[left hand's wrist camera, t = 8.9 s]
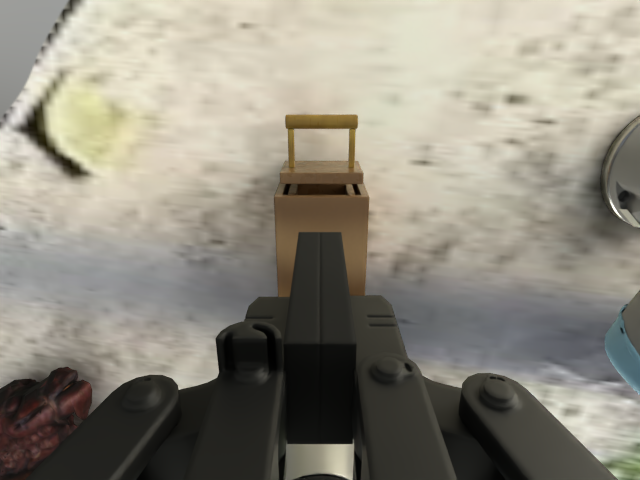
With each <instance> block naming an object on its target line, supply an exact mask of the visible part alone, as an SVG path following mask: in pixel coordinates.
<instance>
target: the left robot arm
mask: <svg viewBox="0 0 640 480" xmlns="http://www.w3.org/2000/svg"><path fill="white" fill-rule="evenodd" d="M601 191H602V196H603V199H604V201H605V203H606V205H607V207H608V208H609V210H610V211H611V212H612V213H613V214H614V215H615V216H616V217H617V218H619V219H620V220H622V221H624V222H626V223H628V224H630V225H632V226H634V227H637V228H639V229H640V116H639V117H637V118H636V119H635V120H633V121H632V122H631V123H630V124H629V125H628V126H627V127H626V128H625V129H624V130H623V131H622V132H621V133H620V134H619V135H618V137H617V138H616V139H615V141H614V142H613V144H612V146H611V147H610V149H609V151H608V153H607V155H606V158H605V160H604V163H603V167H602V171H601ZM216 347H217V356H218V365H219V374H218V377H217V378H216V379H214V380H212V381H210V382H208V383H205V384H201V385H198V386H194V387H190V388H185V389H181V390H178V385H177V384H176V383H175V382H174V380H173V379H171V378H169V377H166V376H163V375H147V376H142V377H138V378H135V379H133V380H131V381H128V382H126V383H124V384H122V385H121V386H120V387H119V388H117V389H116V390H115V391H113V392H112V393H111V394H110V395H109V396H108V397H107V398H106V399H105V400H104V401H103V402H102V403H101V404H100V405H99V406H98V407H97V408H96V409H95V410H94V411H93V412H92V413H91V414H90V415H89V416H88V417H87V418H86V419H85V420H84V421H83V422H82V423H81V424H80V425H79V426H78V427H77V428H76V429H75V430H74V431H73V432H72V433H71V434H70V435H69V436H68V437H67V438H66V439H65V440H64V441H63V442H62V443H61V444H60V445H59V446H58V447H57V448H56V449H55V450H54V451H53V452H52V453H51V454H50V455H49V456H48V457H47V458H46V459H45V460H44V461H43V462H42V463H41V464H40V465H39V466H38V467H37V468H36V469H35V470H34V471H33V472H32V473H31V474H30V475H29V476H28V477H27V478H26V479H25V480H286V468H287V461H286V443H287V444H353V441H354V461H353V480H618V479H617V478H616V477H615V476H614V475H613V474H612V473H611V472H610V471H609V470H608V469H607V468H606V467H605V466H604V465H603V464H602V463H601V462H600V461H599V460H598V459H597V458H596V457H595V456H594V455H593V454H591V453H590V452H589V451H588V450H587V449H586V448H585V447H584V446H583V445H582V444H581V443H580V442H579V441H578V440H577V439H576V438H575V437H574V436H573V435H572V434H571V433H570V432H569V431H568V430H567V429H566V428H565V427H564V426H563V425H562V424H561V423H560V422H559V421H558V420H557V419H556V418H555V417H554V416H553V415H552V414H551V413H550V412H549V411H548V410H547V409H546V408H545V407H544V406H543V405H542V404H541V403H540V402H539V401H538V400H537V399H536V398H535V397H534V396H533V395H532V394H531V393H530V392H529V391H528V390H527V389H526V388H524V387H523V386H522V385H520V384H519V383H518V382H516V381H514V380H511V379H509V378H507V377H505V376H501V375H497V374H492V373H478V374H475V375H472V376H470V377H468V378H467V379H466V380H465V381H464V382H463V384H462V388H458V387H453V386H449V385H445V384H441V383H438V382H434V381H432V380H430V379H428V378H425V377H424V376H422V374H421V371H420V370H419V368H418V367H417V365H416V364H415V363H414V362H412V361H411V360H410V359H408V357H407V354H406V350H405V347H404V344H403V341H402V338H401V334H400V331H399V328H398V327H397V322H396V318H395V315H394V312H393V309H392V306H391V304H390V303H389V302H388V301H387V300H385V299H384V298H383V297H382V296H350V292H349V284H348V277H347V270H346V263H345V255H344V248H343V241H342V233H341V232H299V233H298V241H297V248H296V255H295V262H294V270H293V277H292V284H291V292H290V297H258V298H257V299H256V300H255V301H254V302H253V303H252V304H251V305H250V306H249V307H248V310H247V314H246V319H245V320H244V322H239V323H236V324H233V325H230V326H228V327H227V328H225V329H224V330H222V331H221V332H220V333H219V335H218V336H217V337H216ZM605 350H606V353H607V355H608V357H609V359H610V361H611V363H612V364H613V366H614V367H615V368H616V370H617V371H618V372H619V374H620V375H621V376H622V377H623V378H624V379H625V380H626V382H627V383H628V384H629V385H630V386H631V387H632V388H633V389H634V390H635V391H636V392H637V393H638V394H639V395H640V290H639V292H638V293H637V294H636V295H635V297H634V298H633V299H632V300H631V302H630V303H629V304H626V305H624V306H623V307H622V309H621V310H620V313H619V315H618V318H617V319H616V321H615V322H614V323H613V325H612V326H611V328H610V329H609V330H608V332H607V333H606V336H605Z"/></svg>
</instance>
